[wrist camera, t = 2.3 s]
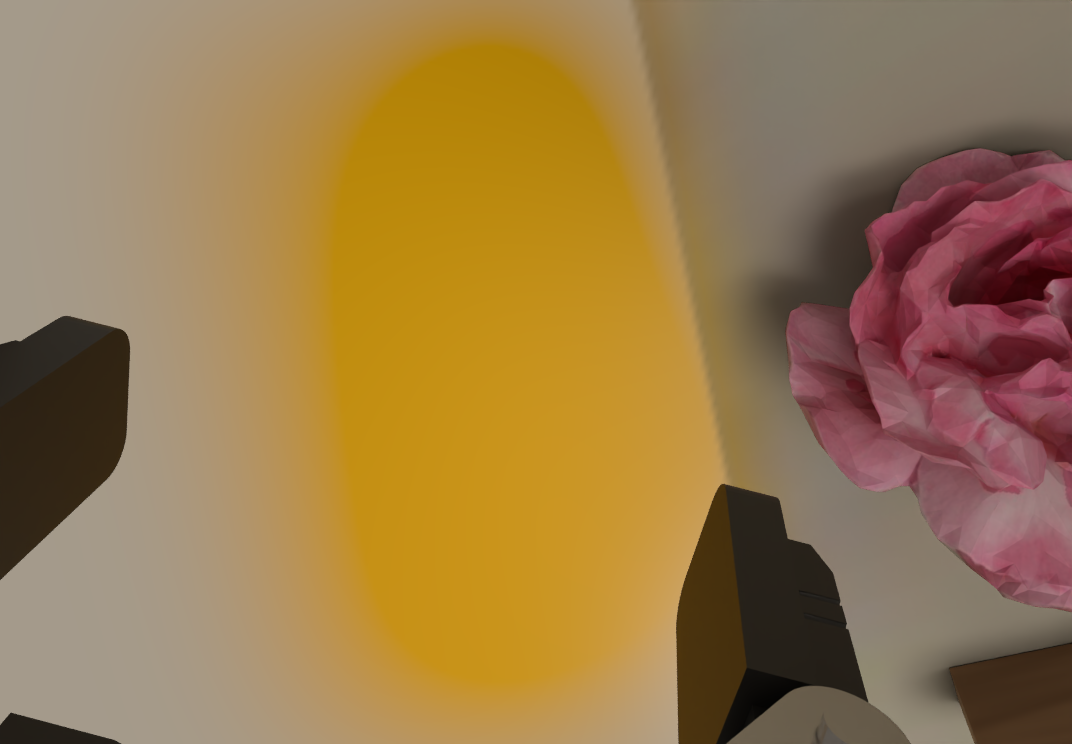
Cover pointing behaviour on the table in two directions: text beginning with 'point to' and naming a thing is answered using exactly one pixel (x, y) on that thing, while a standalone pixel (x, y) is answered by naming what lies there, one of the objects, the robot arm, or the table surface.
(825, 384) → the flower
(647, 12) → the table surface
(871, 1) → the table surface
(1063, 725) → the wooden slat frame
